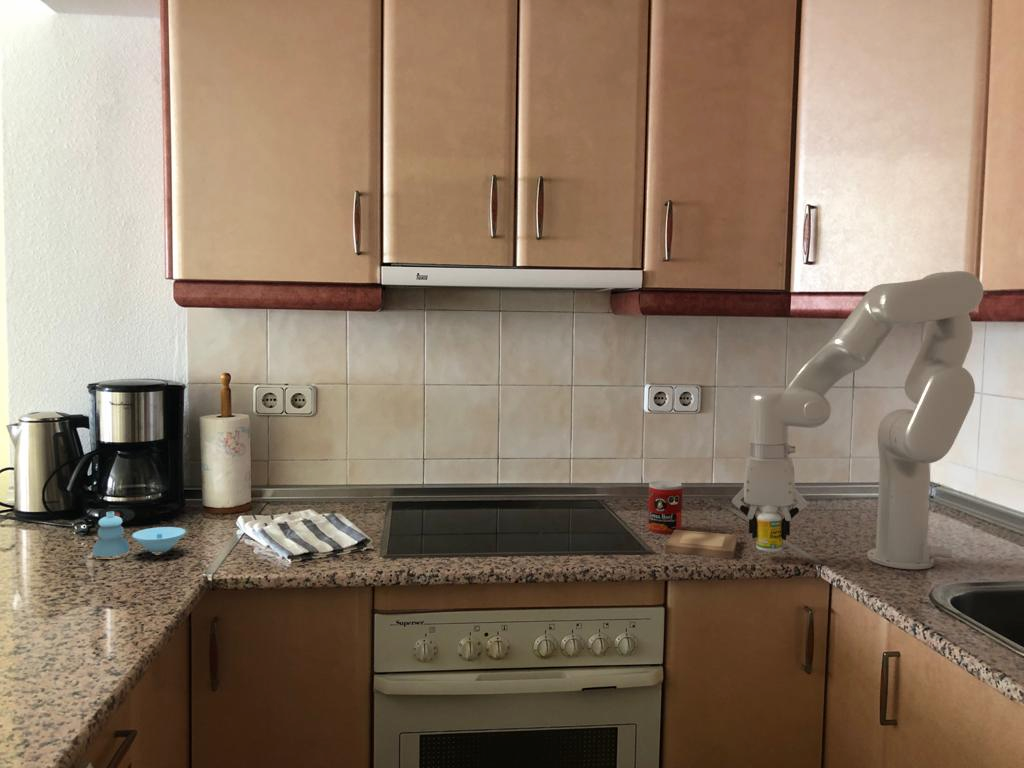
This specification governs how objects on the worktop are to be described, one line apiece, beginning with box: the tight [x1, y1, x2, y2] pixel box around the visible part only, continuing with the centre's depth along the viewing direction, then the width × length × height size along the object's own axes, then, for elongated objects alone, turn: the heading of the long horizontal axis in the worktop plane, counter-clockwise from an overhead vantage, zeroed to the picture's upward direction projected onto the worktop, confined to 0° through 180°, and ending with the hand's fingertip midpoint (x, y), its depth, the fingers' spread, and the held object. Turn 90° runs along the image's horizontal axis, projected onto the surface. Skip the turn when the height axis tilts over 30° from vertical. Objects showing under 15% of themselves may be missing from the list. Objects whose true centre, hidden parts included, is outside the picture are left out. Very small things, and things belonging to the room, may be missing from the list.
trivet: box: [665, 529, 739, 559], centre depth 190 cm, size 14×14×2 cm
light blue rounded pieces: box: [92, 511, 187, 557], centre depth 179 cm, size 18×10×9 cm, turn 100°
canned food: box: [647, 480, 683, 535], centre depth 204 cm, size 8×8×11 cm
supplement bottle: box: [755, 506, 784, 553], centre depth 181 cm, size 5×5×10 cm
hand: (769, 536), depth 181 cm, fingers closed on supplement bottle, 5 cm apart
